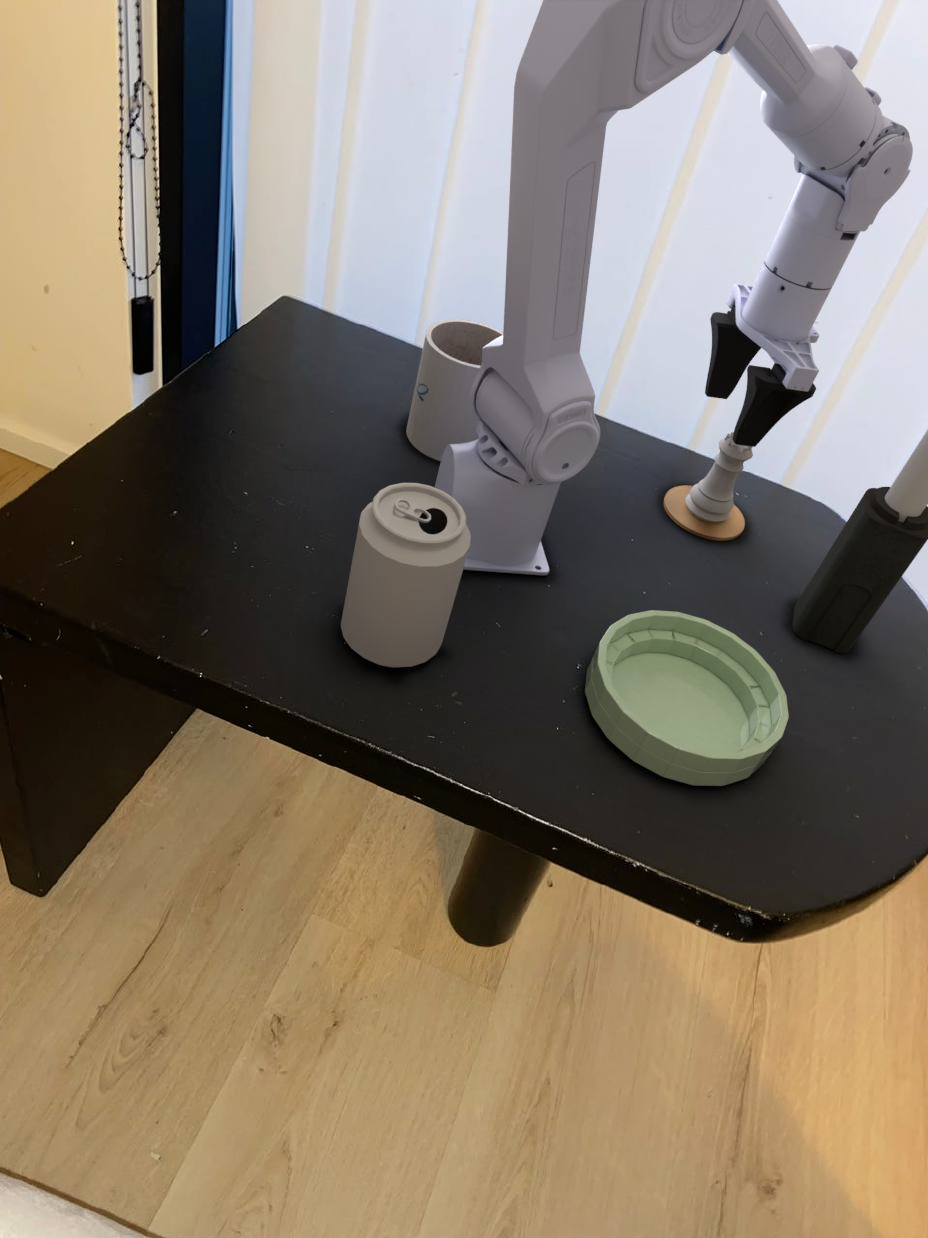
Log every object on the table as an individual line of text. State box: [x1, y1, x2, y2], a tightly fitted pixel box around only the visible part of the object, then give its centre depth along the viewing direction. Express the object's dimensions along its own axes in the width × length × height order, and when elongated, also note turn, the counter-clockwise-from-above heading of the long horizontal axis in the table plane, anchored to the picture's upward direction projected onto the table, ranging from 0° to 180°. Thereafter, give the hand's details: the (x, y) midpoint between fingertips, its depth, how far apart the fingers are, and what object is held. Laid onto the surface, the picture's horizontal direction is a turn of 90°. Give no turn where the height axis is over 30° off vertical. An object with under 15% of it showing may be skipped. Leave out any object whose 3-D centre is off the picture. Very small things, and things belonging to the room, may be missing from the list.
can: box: [340, 482, 471, 668], centre depth 65 cm, size 8×8×12 cm
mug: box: [406, 318, 503, 462], centre depth 88 cm, size 12×9×10 cm
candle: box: [791, 429, 928, 654], centre depth 73 cm, size 5×5×25 cm
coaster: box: [663, 484, 746, 542], centre depth 90 cm, size 8×8×1 cm
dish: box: [584, 609, 790, 787], centre depth 69 cm, size 14×14×4 cm
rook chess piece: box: [685, 431, 754, 523], centre depth 88 cm, size 4×4×8 cm
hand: (729, 418), depth 84 cm, fingers open, 7 cm apart
